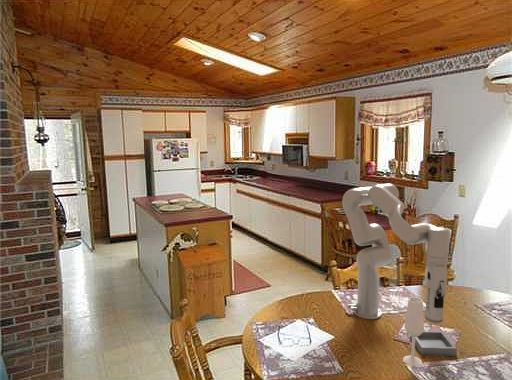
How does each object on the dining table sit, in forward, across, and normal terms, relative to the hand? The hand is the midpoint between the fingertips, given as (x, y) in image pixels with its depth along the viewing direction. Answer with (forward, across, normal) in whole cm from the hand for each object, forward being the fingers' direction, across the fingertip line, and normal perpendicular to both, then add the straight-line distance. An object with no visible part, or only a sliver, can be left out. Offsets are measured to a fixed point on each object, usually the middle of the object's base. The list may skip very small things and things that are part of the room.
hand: (434, 303), depth 151 cm
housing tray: (+18, 0, 0) cm, 18 cm away
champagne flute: (+18, +10, -11) cm, 24 cm away
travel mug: (+7, 0, 0) cm, 7 cm away
